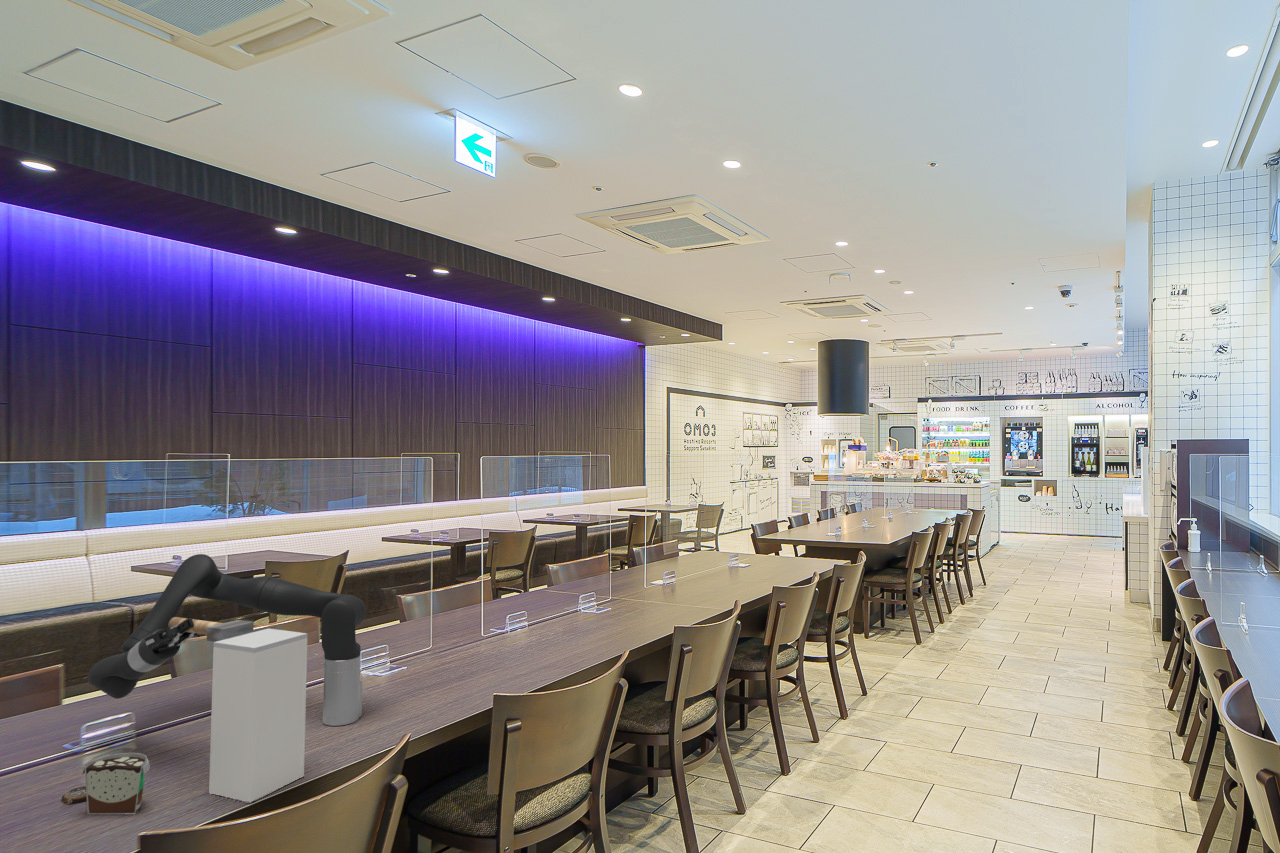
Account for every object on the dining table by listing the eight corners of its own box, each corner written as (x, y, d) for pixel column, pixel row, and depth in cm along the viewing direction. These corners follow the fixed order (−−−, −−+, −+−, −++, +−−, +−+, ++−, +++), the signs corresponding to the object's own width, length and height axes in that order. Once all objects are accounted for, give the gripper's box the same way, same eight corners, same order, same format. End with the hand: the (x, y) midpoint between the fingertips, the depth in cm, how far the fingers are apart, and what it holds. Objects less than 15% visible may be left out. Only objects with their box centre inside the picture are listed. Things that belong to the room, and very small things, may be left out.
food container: (161, 800, 155) (163, 751, 155) (142, 814, 149) (144, 763, 149) (101, 800, 155) (103, 751, 155) (80, 814, 148) (82, 764, 149)
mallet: (157, 633, 173) (158, 620, 173) (189, 626, 180) (190, 613, 180) (222, 642, 165) (222, 629, 165) (253, 634, 172) (253, 621, 172)
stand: (264, 768, 171) (268, 628, 172) (303, 777, 166) (307, 633, 168) (208, 794, 158) (213, 642, 159) (250, 804, 153) (254, 648, 155)
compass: (74, 791, 159) (75, 756, 159) (112, 790, 159) (114, 756, 160) (47, 809, 151) (48, 772, 151) (87, 808, 151) (88, 772, 152)
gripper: (119, 643, 173) (164, 611, 168) (176, 630, 186) (220, 600, 181) (129, 673, 171) (175, 642, 166) (186, 657, 185) (230, 628, 179)
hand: (198, 620), depth 174 cm, fingers closed on mallet, 3 cm apart
